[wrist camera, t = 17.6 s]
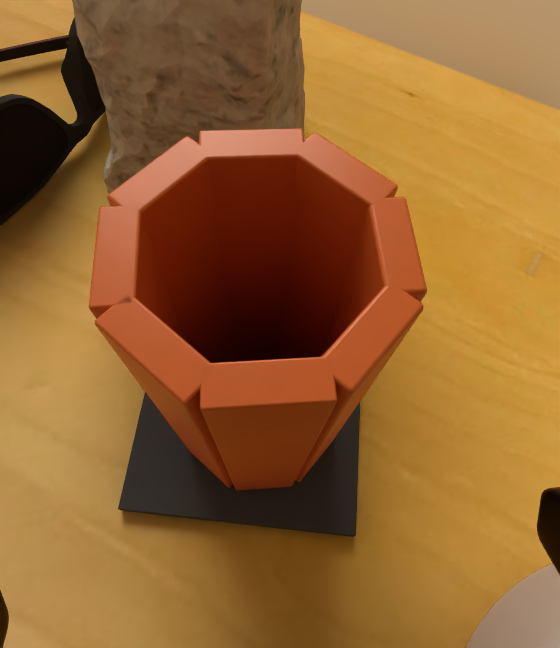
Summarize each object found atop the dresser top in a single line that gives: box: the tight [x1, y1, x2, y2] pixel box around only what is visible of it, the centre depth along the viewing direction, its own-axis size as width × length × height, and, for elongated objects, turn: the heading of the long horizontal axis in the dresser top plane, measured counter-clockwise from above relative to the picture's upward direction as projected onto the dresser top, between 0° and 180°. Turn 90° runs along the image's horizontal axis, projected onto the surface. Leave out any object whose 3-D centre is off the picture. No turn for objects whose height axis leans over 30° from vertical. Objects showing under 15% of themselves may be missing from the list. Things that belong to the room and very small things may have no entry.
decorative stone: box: [72, 0, 305, 194], centre depth 19 cm, size 10×9×15 cm
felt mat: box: [118, 392, 360, 537], centre depth 20 cm, size 9×9×1 cm
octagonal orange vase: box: [89, 128, 427, 491], centre depth 14 cm, size 6×6×12 cm
